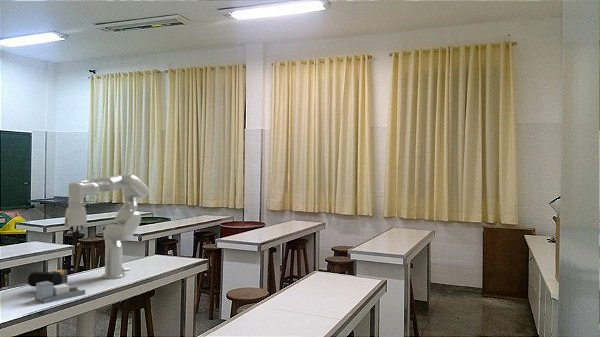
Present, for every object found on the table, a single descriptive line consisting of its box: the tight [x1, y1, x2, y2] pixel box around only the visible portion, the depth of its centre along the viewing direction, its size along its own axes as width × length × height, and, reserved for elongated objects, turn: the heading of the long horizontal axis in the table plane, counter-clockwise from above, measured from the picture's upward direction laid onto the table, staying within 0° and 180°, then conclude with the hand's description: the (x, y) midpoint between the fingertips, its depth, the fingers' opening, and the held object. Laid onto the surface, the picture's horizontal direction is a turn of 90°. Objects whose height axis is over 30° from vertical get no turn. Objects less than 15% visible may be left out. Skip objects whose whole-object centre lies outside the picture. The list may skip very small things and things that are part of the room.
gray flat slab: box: [34, 286, 86, 305], centre depth 213 cm, size 20×10×2 cm, turn 142°
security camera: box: [27, 271, 62, 287], centre depth 221 cm, size 7×18×10 cm, turn 78°
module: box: [53, 283, 70, 296], centre depth 212 cm, size 5×6×6 cm
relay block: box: [51, 268, 69, 285], centre depth 239 cm, size 5×6×7 cm
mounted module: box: [35, 281, 53, 301], centre depth 207 cm, size 5×7×8 cm
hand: (75, 238), depth 229 cm, fingers closed
